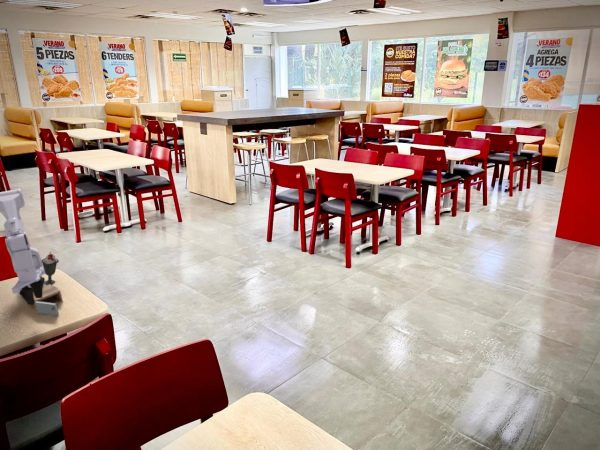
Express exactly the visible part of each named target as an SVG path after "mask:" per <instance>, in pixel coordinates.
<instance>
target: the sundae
mask: <svg viewBox="0 0 600 450" xmlns="http://www.w3.org/2000/svg"><path fill="white" fill-rule="evenodd" d="M41 261H42V265H43V266H42V269H44V270H45V274H44V275H46V276H47V280H45V281H44V284H45V285H49V284H51V285H52V286H53V285H54V284H55V283H56V281H55V280H53V279H52V276H53V275H55V273H56V270H57V263H59V262H60V261H59V259H58V258H57V257H56V256H55V255H54V254H53V253H52V252H51V251H50V252H49V253H48V255H46V257H45V258H41Z"/></svg>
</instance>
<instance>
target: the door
mask: <svg viewBox="0 0 600 450" xmlns="http://www.w3.org/2000/svg"><path fill="white" fill-rule="evenodd" d="M35 305H36V308H37V310H36V311H37V313H38V314H43V315H52V316H59V315H60V312H59V309H58V304H57V305H56V304H55V303H47V302H38V301H36V302H35Z"/></svg>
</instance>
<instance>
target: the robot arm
mask: <svg viewBox="0 0 600 450" xmlns="http://www.w3.org/2000/svg"><path fill="white" fill-rule="evenodd" d="M25 203H26V202H25V198H24V196H23V193H22V189H20V188H16V189H11V190H5V191H1V192H0V212H2V213H3V214H4V217H5V219H6V220H5V222H4V223H3V227H4V233H5V236H6V238H5V239H4V240H5V245H6V249H7V251H8V253H9V255H10V258H11V263H12V266H13V270H14V273H16V275H17V278H18V280H17V282H16V283H15V284H14V286H12V288H11V292H12V293H13V294H15V295H16V294H17V295H19V296H21V298H23V300H24V301H25V302H26V304H27V305H29V306H30V305H33V304H34V298H33V292H34V295H35V297H36V298H42V290H43V286H46V285H45V284H44V281H46V279H45V277H43V275H46V274H45V270H44V268H43V264H42V261H41V260H42V257H41V254H40V252H39V250H38V249H37V248H36V247H32V246H31V244H30V239H29V237H28V233H26V229H25V227H24V221H22V217H21V215H20V210H21V209H22V208H24V207H25V205H26V204H25Z"/></svg>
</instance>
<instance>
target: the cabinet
mask: <svg viewBox="0 0 600 450" xmlns="http://www.w3.org/2000/svg"><path fill="white" fill-rule="evenodd" d="M33 298H34V304H33V305H29V306H30V307H32V308H33V309H34V310H35V311H37V308H36V305H35V302H36V301H38V302H47V303H55V304H56V305H57V306H58V305H59V304H61V303H63V302H64V300H63V297H62V293H61V290H60V289H58V288H57V287H55V286H53V285H51V284H49V285H46V286H43V290H42V298H36V297H35V295H34V292H33Z"/></svg>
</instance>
